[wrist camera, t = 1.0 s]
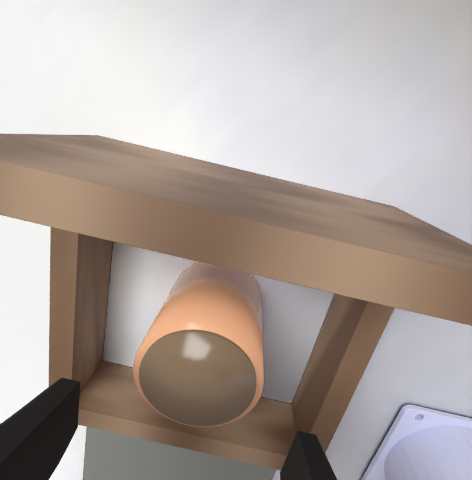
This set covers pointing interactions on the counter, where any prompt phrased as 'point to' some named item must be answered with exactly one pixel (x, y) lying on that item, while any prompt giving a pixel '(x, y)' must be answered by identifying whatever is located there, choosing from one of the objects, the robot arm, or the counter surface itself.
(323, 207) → the potting tray
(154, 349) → the peach orange cylinder
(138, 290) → the counter surface
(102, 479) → the slate mat
